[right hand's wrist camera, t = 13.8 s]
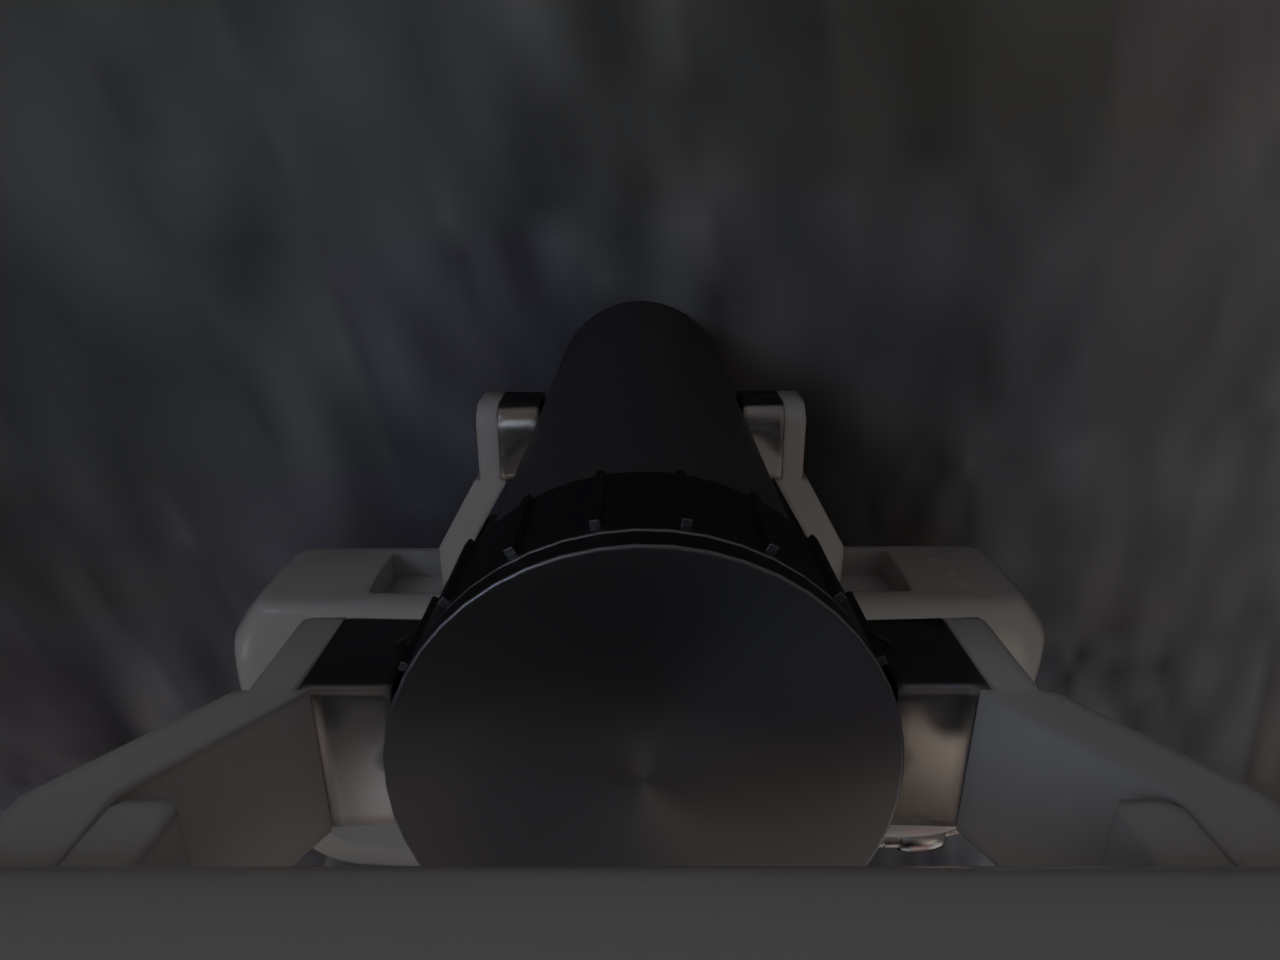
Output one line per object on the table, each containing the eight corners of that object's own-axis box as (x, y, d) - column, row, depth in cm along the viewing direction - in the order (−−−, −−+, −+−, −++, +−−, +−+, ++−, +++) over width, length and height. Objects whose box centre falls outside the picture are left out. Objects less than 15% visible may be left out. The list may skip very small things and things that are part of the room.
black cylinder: (681, 273, 23) (771, 473, 8) (744, 420, 25) (926, 840, 9) (533, 342, 24) (332, 656, 8) (602, 480, 26) (545, 968, 10)
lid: (768, 386, 9) (802, 443, 7) (919, 757, 11) (980, 882, 9) (341, 571, 10) (269, 666, 8) (548, 888, 12) (529, 1030, 10)
